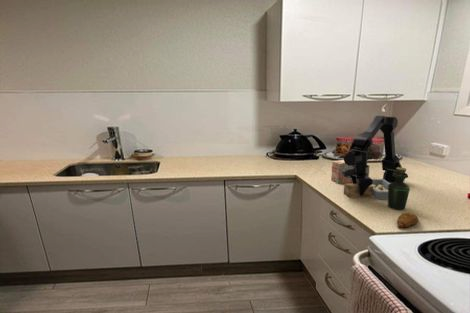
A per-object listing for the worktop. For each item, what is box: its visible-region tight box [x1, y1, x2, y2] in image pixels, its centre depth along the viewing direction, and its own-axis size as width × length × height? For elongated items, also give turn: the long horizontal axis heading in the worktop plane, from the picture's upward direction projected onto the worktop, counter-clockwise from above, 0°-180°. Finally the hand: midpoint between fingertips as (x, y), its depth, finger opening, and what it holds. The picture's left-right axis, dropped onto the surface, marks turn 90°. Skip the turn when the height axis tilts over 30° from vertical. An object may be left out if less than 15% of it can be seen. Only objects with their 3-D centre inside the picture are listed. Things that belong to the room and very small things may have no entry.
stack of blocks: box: [331, 159, 370, 185], centre depth 152 cm, size 21×6×12 cm, turn 106°
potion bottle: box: [387, 167, 411, 211], centre depth 113 cm, size 8×8×18 cm
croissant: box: [396, 212, 420, 230], centre depth 99 cm, size 14×7×5 cm, turn 125°
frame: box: [371, 178, 390, 200], centre depth 134 cm, size 12×21×4 cm, turn 173°
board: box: [343, 183, 373, 198], centre depth 129 cm, size 12×5×6 cm, turn 89°
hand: (357, 192), depth 130 cm, fingers open, 9 cm apart
